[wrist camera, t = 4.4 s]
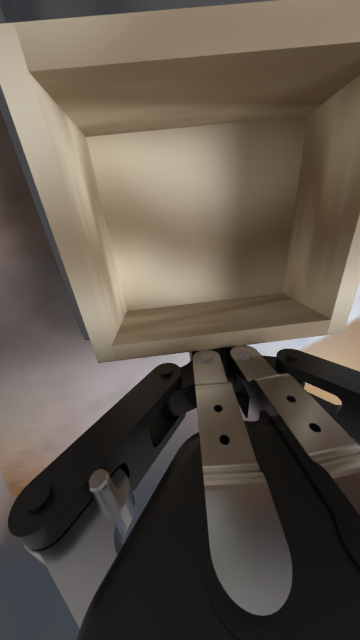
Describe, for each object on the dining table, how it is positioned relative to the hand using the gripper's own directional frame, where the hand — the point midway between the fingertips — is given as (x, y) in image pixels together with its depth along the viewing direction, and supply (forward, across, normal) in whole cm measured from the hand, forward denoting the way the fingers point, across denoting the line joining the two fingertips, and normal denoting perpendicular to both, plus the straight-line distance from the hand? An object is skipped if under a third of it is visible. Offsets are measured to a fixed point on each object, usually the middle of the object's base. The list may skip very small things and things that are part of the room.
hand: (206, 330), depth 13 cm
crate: (+2, 0, -6) cm, 6 cm away
